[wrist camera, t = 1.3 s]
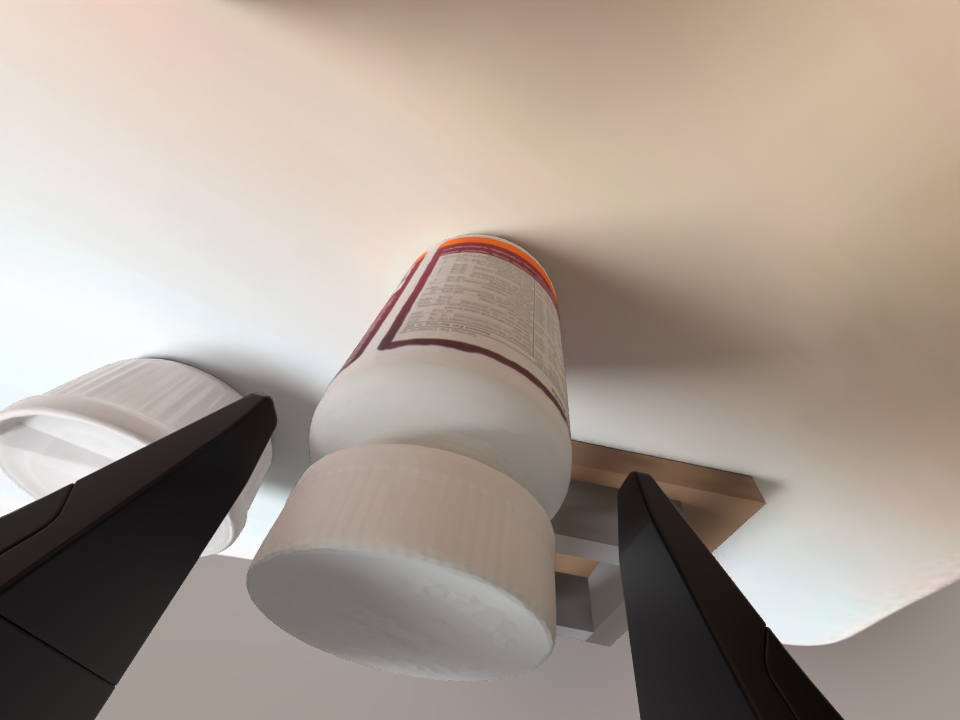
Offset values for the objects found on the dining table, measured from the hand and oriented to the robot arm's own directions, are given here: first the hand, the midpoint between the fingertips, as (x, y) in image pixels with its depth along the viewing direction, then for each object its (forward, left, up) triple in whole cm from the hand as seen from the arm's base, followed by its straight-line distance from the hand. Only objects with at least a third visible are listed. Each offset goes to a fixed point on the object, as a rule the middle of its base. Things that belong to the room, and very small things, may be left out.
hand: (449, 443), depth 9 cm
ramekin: (+15, +11, -8) cm, 20 cm away
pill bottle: (0, 0, -8) cm, 8 cm away
